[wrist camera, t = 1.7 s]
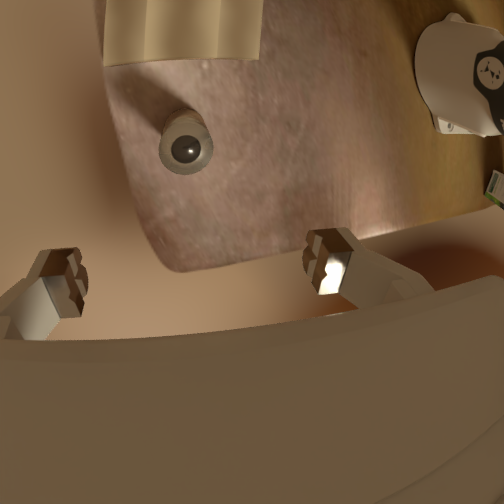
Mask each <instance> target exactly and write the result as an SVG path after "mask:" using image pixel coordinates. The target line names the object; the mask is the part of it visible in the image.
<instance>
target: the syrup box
mask: <svg viewBox="0 0 504 504" xmlns="http://www.w3.org/2000/svg"><path fill="white" fill-rule="evenodd" d="M485 196H486V197H487V198H488V199H490V200H491V201H492V202H494V203H495V204H497V205H498V206H499V207H501V208H502V209H503V210H504V174H502V173H500V172H498V171H496V170H493V174H492V177H491V179H490V182H489V185H488V187H487V190H486V192H485Z"/></svg>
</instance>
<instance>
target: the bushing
mask: <svg viewBox="0 0 504 504" xmlns="http://www.w3.org/2000/svg"><path fill="white" fill-rule="evenodd" d="M212 154H213V141H212V138H211V136H210V134H209V131H208V129H207V127H206V124H205V122H204V120H203V118H202V116H201V115H200V114H199V113H198V112H196V111H194V110H192V109H179V110H177V111H175V112H173V113H172V114H171V115H170V116H169V117H168V118H167V120H166V122H165V125H164V129H163V133H162V136H161V140H160V144H159V156H160V159H161V161H162V163H163V165H164V166H165V167H166V168H167V169H168V170H170V171H172V172H174V173H176V174H181V175H189V174H194V173H196V172H198V171H200V170H202V169H203V168H204V167H205V166H206V165H207V164H208V163H209V161H210V159H211V157H212Z"/></svg>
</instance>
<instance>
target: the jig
mask: <svg viewBox="0 0 504 504" xmlns="http://www.w3.org/2000/svg"><path fill="white" fill-rule="evenodd" d="M262 9H263V0H107V1H106V12H105V26H104V50H103V66H117V65H125V64H133V63H141V62H152V61H165V60H183V59H234V60H259V47H260V34H261V22H262Z"/></svg>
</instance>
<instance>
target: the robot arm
mask: <svg viewBox="0 0 504 504" xmlns="http://www.w3.org/2000/svg"><path fill="white" fill-rule="evenodd" d="M415 73H416V79H417V83H418V87H419V90H420V92H421V95H422V97H423V99H424V101H425V103H426V104H427V106H428V107H429V109H430V111H431V113H432V116H433V121H434V125H435V128H436V130H437V131H438V132H440V133H443V134H477V135H479V136H482V137H486V135H488V136H495V135H504V36H503V35H502V34H500V32H499V31H498V30H497V29H495V28H491V27H487V26H483V25H478V24H473V23H468V22H466V21H465V20H464V19H463V18H462V17H461V16H460V15H459V14H457V13H452V12H451V13H449V14H448V15H447V16H446V17H445V19H444V20H443V21H440V22H437V23H433V24H431V25H430V26H428V27H427V28H426V29H425V30H424V31H423V33H422V34H421V36H420V38H419V41H418V43H417V47H416V53H415ZM306 242H307V243H308V246H307V247H306V248H305V249H304V251H303V256H302V261H303V268H304V271H305V272H306V274H307V275H308V276H310V277H312V282H311V283H312V285H313V287H314V288H315V290H316V292H317V293H318V295H319V294H320V295H321V294H329V293H336V292H339V294H341V295H342V296H343V297H345V298H346V299H347V300H349V301H350V302H351V303H353V304H354V305H355V306H357V307H358V308H360V309H357V310H353V311H347V312H342V313H337V314H331V315H326V316H321V317H315V318H309V319H303V320H297V321H290V322H284V323H277V324H271V325H264V326H256V327H249V328H241V329H234V330H225V331H216V332H207V333H197V334H187V335H175V336H162V337H149V338H132V339H109V340H67V341H66V340H64V341H63V340H56V341H55V340H45V339H46V337H47V336H48V334H50V332H51V331H52V330H53V328H54V327H55V326H56V325H57V323H58V322H59V321H60V318H75V317H81V315H82V311H83V307H84V300H83V297H84V296H85V295H86V294H87V291H88V276H87V271H86V268H85V267H84V266H83V265H81V264H80V263H81V260H82V256H81V252H80V250H79V249H78V248H77V247H74V248H60V249H47V250H42V251H40V252H39V254H38V256H37V257H36V259H35V261H34V263H33V265H32V267H31V269H30V271H29V273H28V275H27V277H26V278H23V279H21V280H20V281H19V282H18V283H16V284H15V285H14V286H13V287H12V288H10V289H9V290H8V291H7V292H5V293H4V294H3V295H2V296H1V297H0V504H504V279H502V278H500V277H498V276H494V275H492V276H487V277H484V278H481V279H478V280H474V281H471V282H467V283H464V284H460V285H457V286H453V287H450V288H446V289H442V290H439V291H435V290H434V289H433V288H432V287H431V286H430V284H429V283H428V282H427V281H426V280H425V279H424V278H423V277H422V275H421V274H419V273H417V272H415V271H413V270H411V269H409V268H407V267H405V266H403V265H401V264H398V263H397V262H394V261H392V260H390V259H388V258H386V257H384V256H382V255H380V254H378V253H376V252H373V251H372V250H366V248H365V247H364V246H363V245H362V244H361V243H360V242H359V240H358V239H357V238H356V237H355V236H354V235H353V234H352V233H351V231H350V230H349V229H348V228H346V227H340V228H330V229H318V230H309V231H308V233H307V235H306Z"/></svg>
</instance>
